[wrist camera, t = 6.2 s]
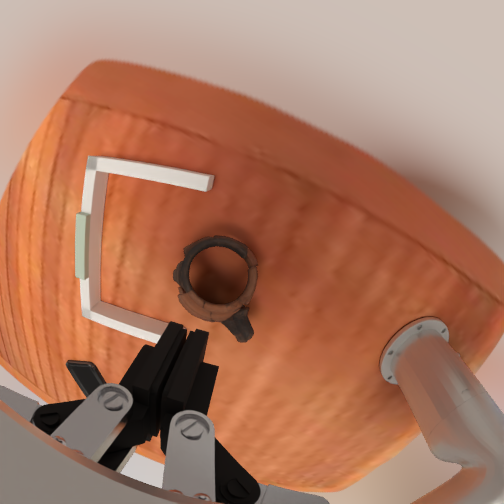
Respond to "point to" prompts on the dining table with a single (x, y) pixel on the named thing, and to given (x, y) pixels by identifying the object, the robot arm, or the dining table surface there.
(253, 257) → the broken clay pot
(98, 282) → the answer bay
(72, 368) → the phone
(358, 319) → the dining table surface
